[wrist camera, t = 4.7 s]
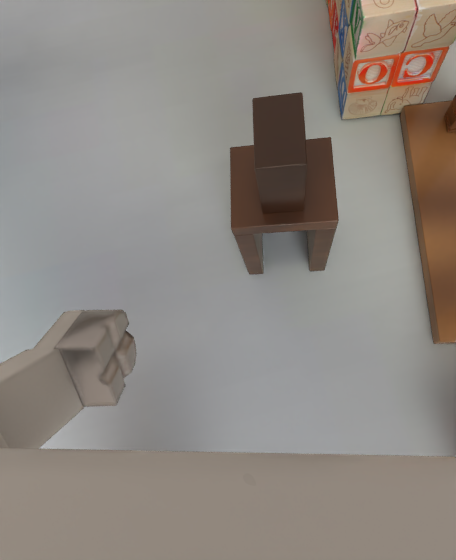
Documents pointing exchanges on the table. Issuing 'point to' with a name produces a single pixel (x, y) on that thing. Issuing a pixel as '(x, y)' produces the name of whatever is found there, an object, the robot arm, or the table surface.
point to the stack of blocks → (388, 52)
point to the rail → (434, 205)
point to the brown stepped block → (282, 183)
